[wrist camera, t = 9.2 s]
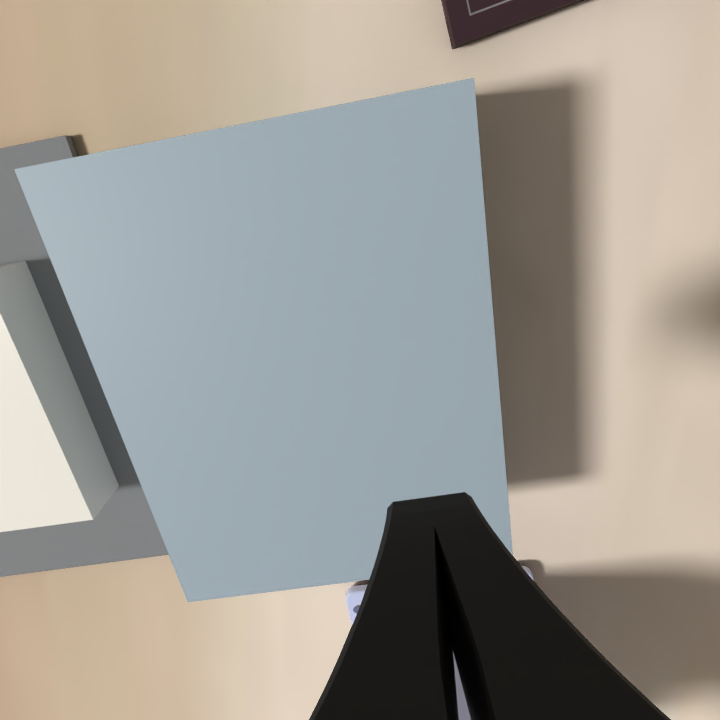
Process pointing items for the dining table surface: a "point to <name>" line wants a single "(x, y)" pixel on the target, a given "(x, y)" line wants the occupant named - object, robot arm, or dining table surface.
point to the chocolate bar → (492, 16)
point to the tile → (43, 420)
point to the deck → (289, 329)
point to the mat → (128, 503)
